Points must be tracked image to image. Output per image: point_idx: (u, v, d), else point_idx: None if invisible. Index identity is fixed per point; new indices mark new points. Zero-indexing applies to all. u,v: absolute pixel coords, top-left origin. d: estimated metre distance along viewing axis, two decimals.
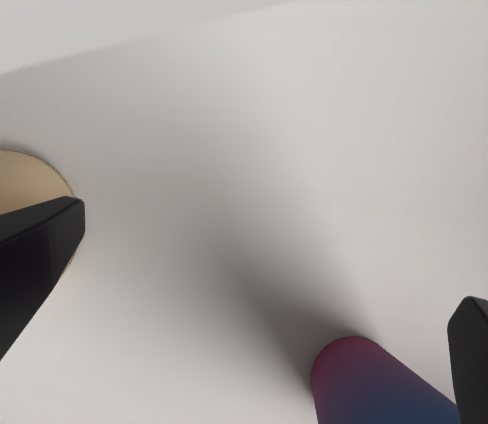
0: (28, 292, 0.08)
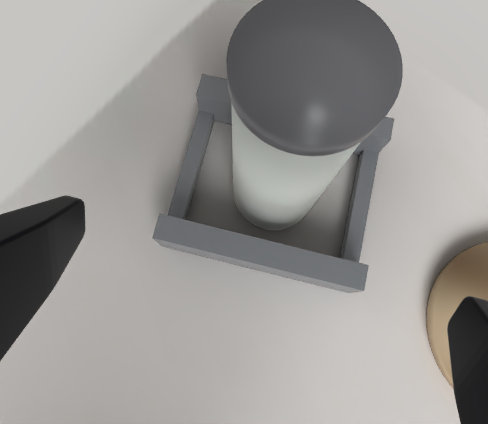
0: (28, 292, 0.08)
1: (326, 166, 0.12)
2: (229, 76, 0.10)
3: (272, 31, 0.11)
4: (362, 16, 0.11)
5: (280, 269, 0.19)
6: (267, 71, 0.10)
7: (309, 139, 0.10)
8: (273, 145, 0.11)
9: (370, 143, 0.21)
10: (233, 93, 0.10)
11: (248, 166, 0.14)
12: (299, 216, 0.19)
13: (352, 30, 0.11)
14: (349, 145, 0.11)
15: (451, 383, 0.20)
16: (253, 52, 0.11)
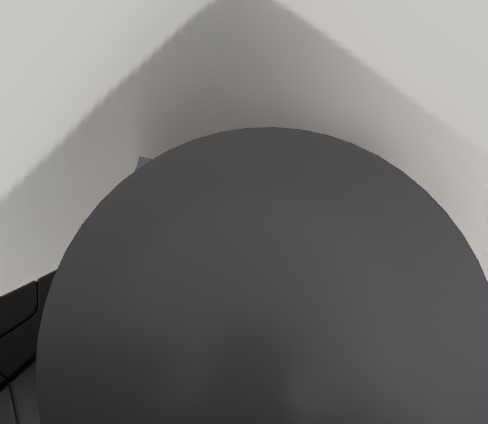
0: None
1: None
2: (39, 394, 0.04)
3: (165, 252, 0.04)
4: (396, 204, 0.04)
5: None
6: (144, 373, 0.04)
7: None
8: None
9: None
10: None
11: None
12: None
13: (371, 246, 0.04)
14: None
15: None
16: (112, 316, 0.04)
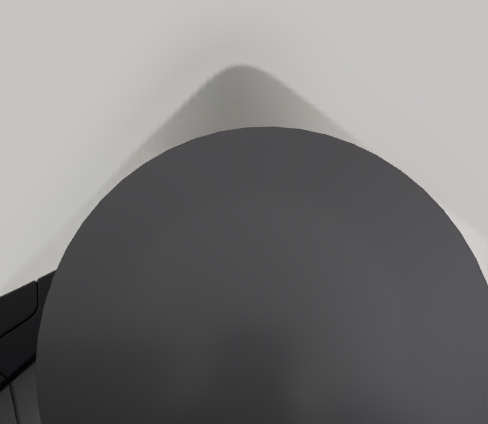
0: None
1: None
2: (39, 392, 0.04)
3: (164, 251, 0.04)
4: (394, 203, 0.04)
5: None
6: (143, 371, 0.04)
7: None
8: None
9: None
10: None
11: None
12: None
13: (370, 245, 0.04)
14: None
15: None
16: (112, 316, 0.04)
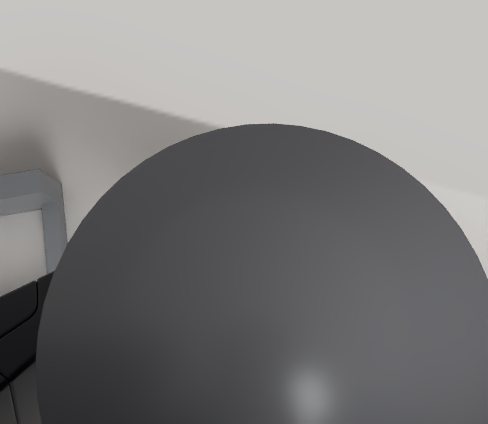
0: None
1: None
2: (39, 389, 0.04)
3: (164, 248, 0.04)
4: (395, 200, 0.04)
5: None
6: (144, 369, 0.04)
7: None
8: None
9: (35, 199, 0.20)
10: None
11: None
12: None
13: (371, 242, 0.04)
14: None
15: None
16: (112, 312, 0.04)
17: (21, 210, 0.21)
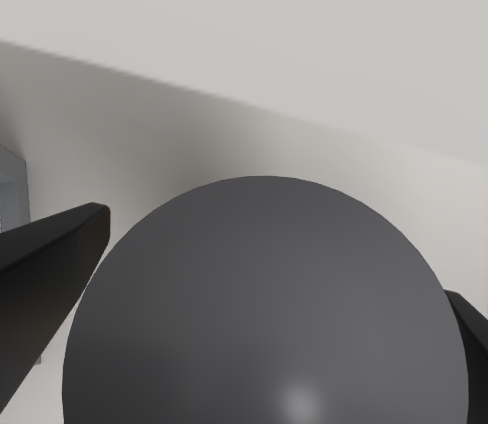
0: (58, 300, 0.08)
1: None
2: (65, 414, 0.04)
3: (173, 289, 0.05)
4: (376, 245, 0.05)
5: None
6: (156, 396, 0.05)
7: None
8: None
9: None
10: None
11: None
12: None
13: (354, 283, 0.05)
14: None
15: None
16: (127, 347, 0.05)
17: None
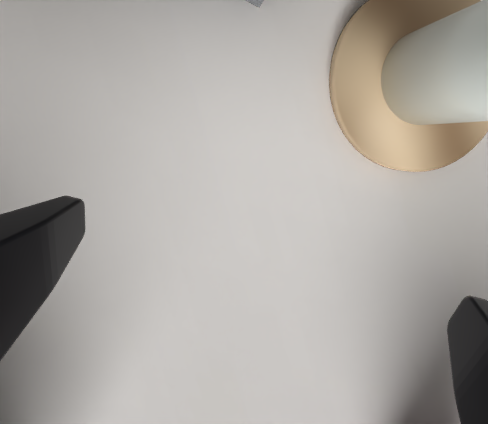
0: (28, 292, 0.08)
1: None
2: None
3: None
4: None
5: None
6: None
7: None
8: None
9: None
10: None
11: None
12: (445, 122, 0.18)
13: None
14: None
15: (338, 119, 0.20)
16: None
17: None
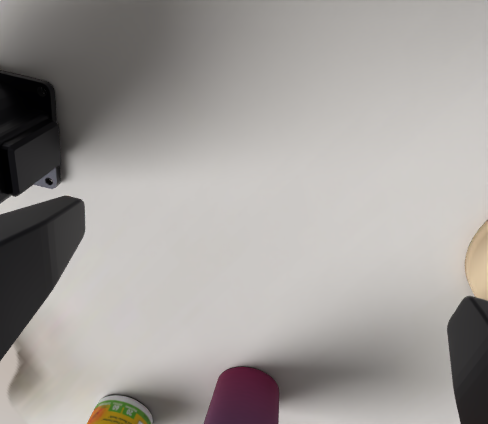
0: (28, 292, 0.08)
1: None
2: None
3: None
4: None
5: None
6: None
7: None
8: None
9: None
10: None
11: None
12: None
13: None
14: None
15: None
16: None
17: None
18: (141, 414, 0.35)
